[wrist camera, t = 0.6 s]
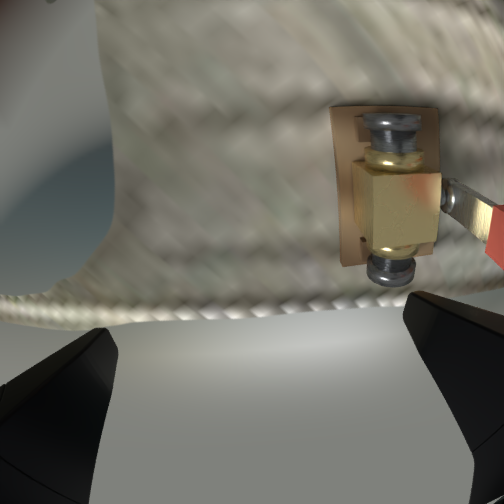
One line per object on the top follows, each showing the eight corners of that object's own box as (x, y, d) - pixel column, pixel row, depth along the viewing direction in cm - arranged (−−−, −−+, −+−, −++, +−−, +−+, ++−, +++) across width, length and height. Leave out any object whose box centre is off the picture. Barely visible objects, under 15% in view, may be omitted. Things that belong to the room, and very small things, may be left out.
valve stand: (328, 107, 18) (350, 106, 13) (431, 108, 17) (473, 113, 12) (340, 261, 24) (356, 301, 19) (427, 249, 23) (457, 283, 18)
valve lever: (434, 172, 18) (557, 252, 6) (449, 172, 18) (570, 248, 6) (432, 208, 19) (538, 307, 8) (447, 207, 19) (552, 300, 8)
